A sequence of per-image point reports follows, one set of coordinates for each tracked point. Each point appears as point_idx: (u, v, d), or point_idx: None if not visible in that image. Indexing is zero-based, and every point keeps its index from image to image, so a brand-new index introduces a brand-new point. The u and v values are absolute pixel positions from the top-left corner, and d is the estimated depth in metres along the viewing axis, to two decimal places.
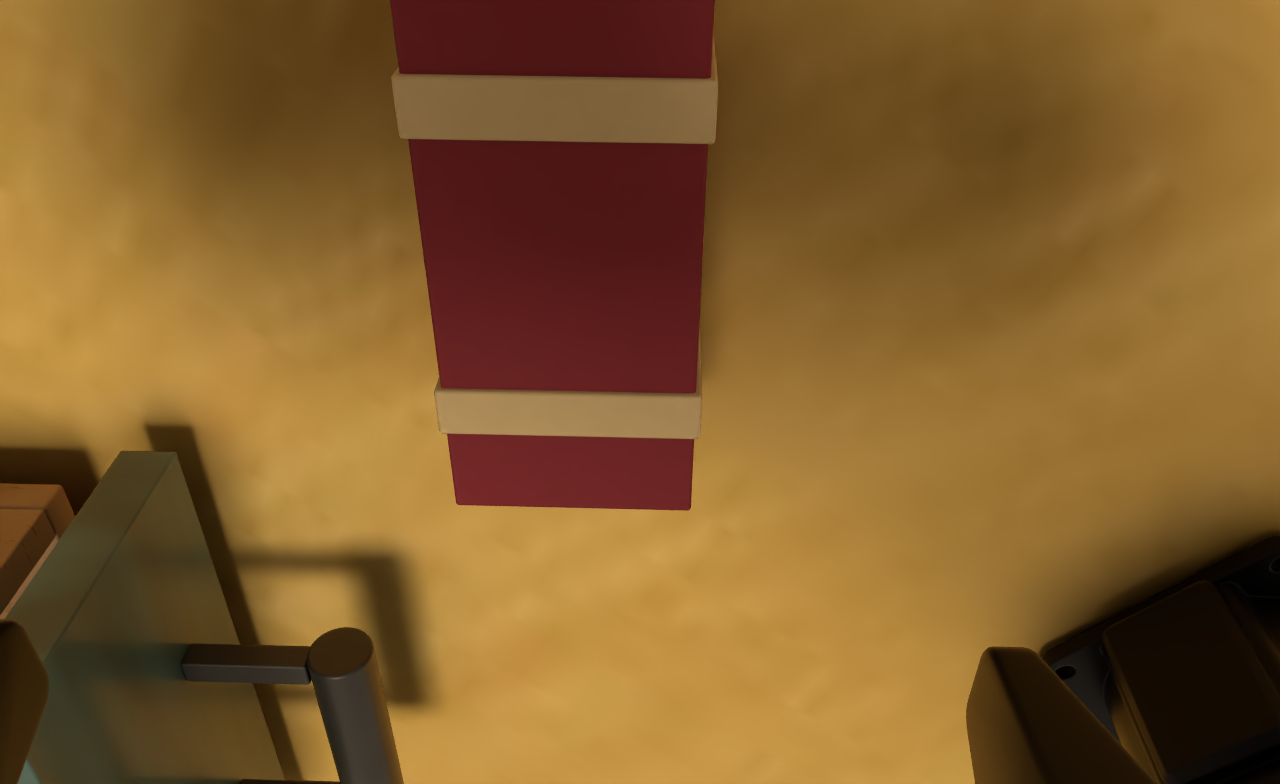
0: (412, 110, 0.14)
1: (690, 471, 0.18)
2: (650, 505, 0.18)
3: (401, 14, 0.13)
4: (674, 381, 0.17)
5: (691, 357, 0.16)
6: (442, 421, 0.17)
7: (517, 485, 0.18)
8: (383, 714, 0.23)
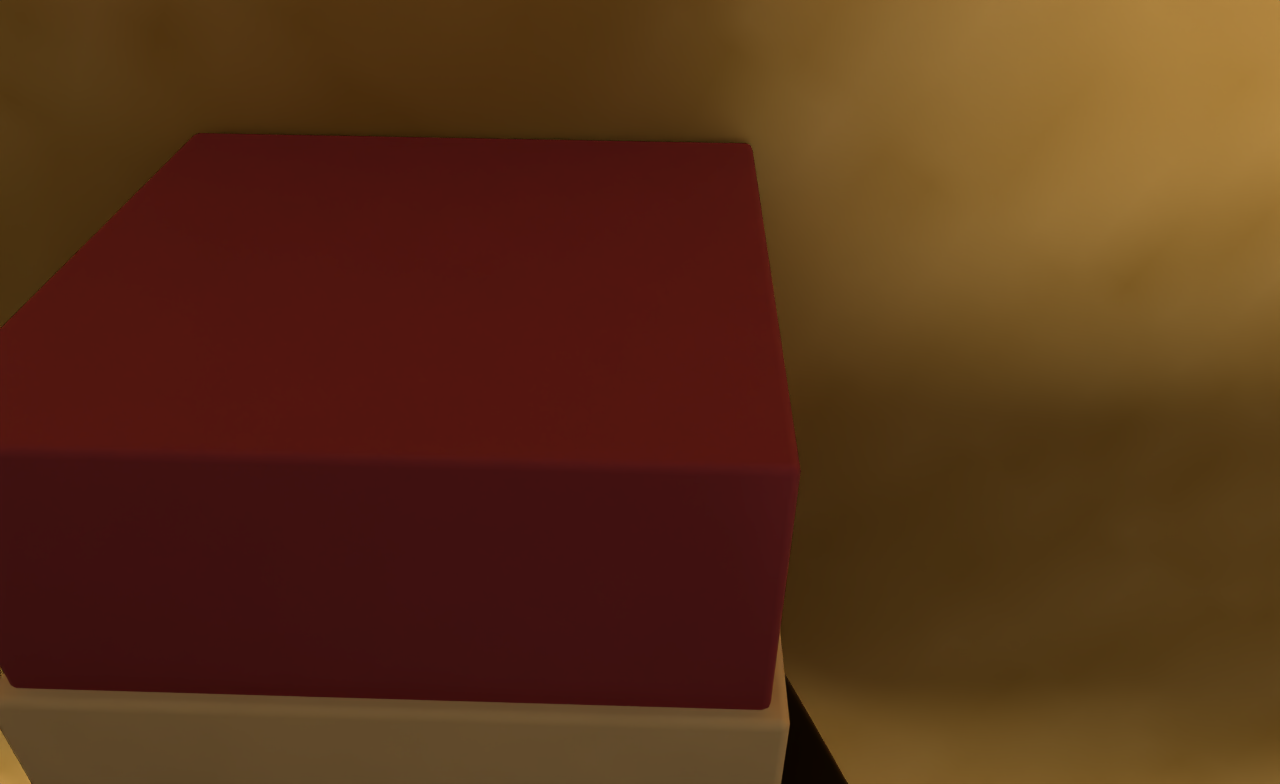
0: (60, 742, 0.06)
1: None
2: None
3: None
4: None
5: None
6: None
7: None
8: None
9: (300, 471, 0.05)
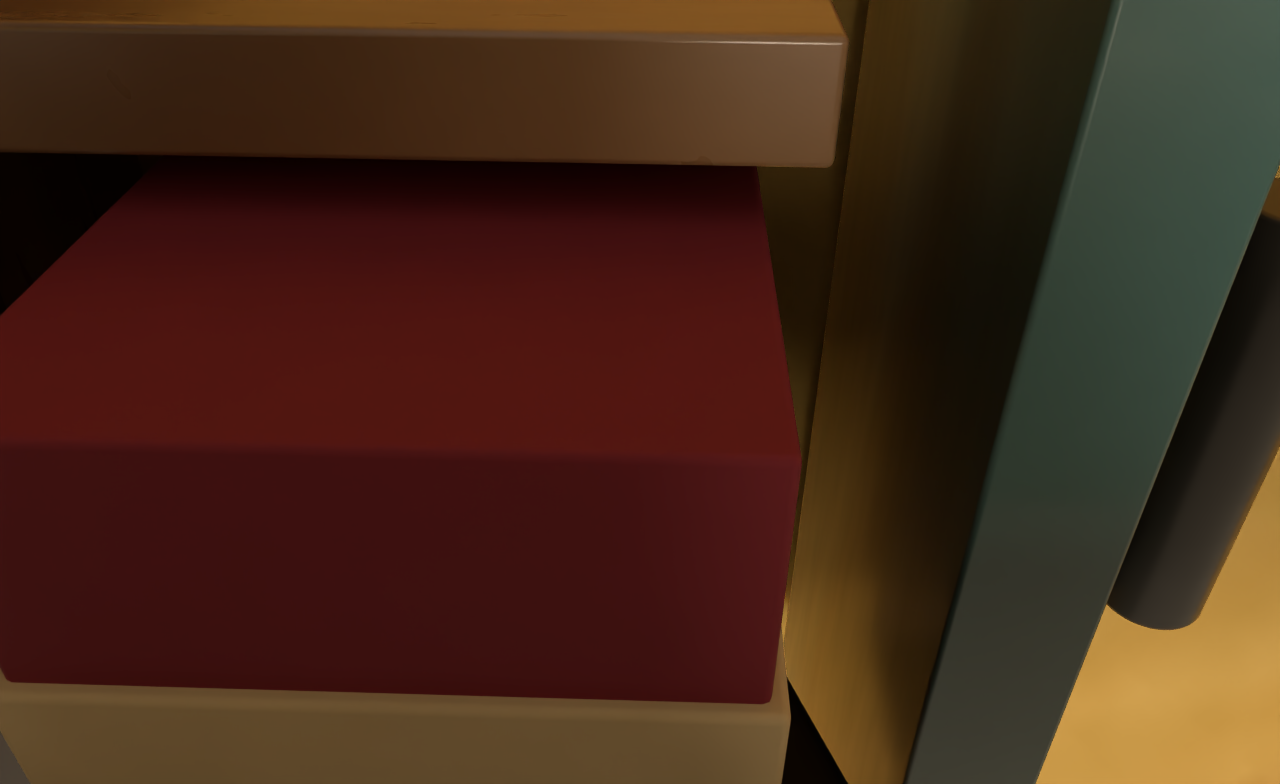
0: (54, 738, 0.06)
1: None
2: None
3: None
4: None
5: None
6: None
7: None
8: None
9: (297, 460, 0.05)
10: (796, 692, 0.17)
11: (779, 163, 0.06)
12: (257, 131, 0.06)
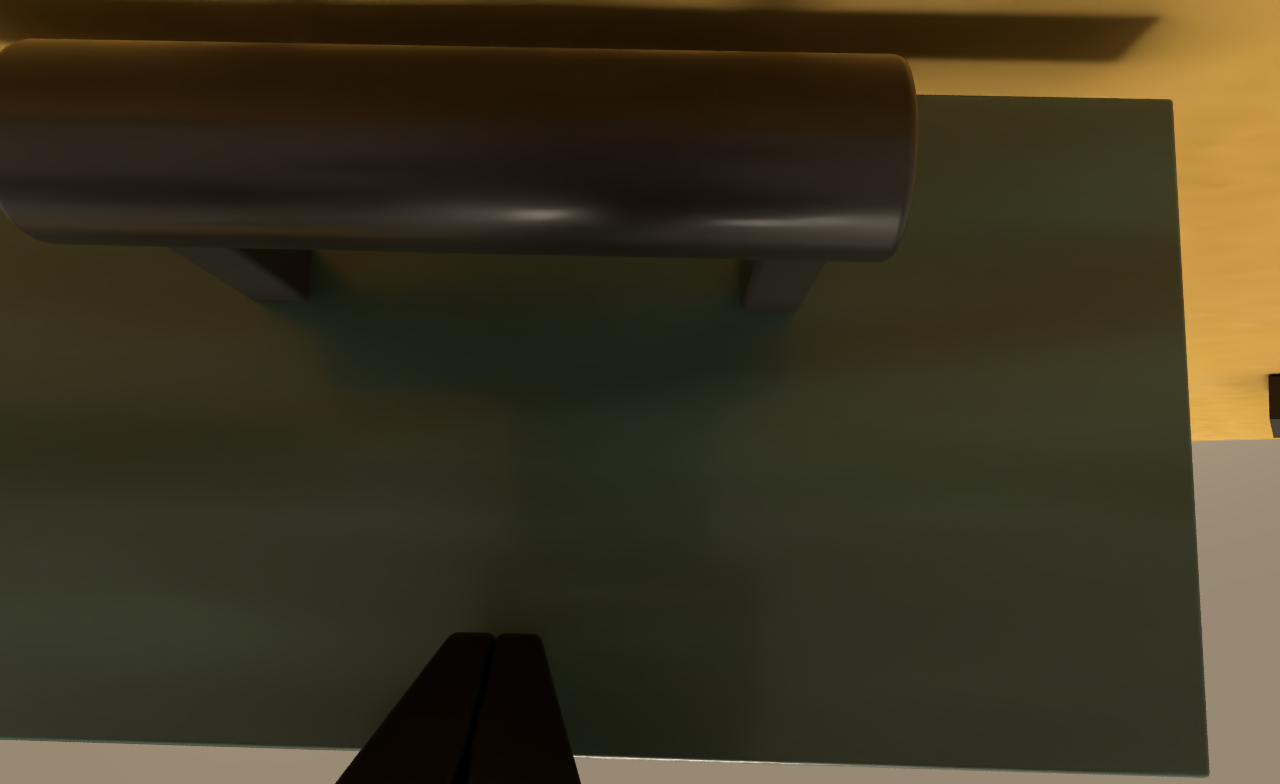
0: None
1: None
2: None
3: None
4: None
5: None
6: None
7: None
8: (282, 126, 0.06)
9: None
10: None
11: None
12: None
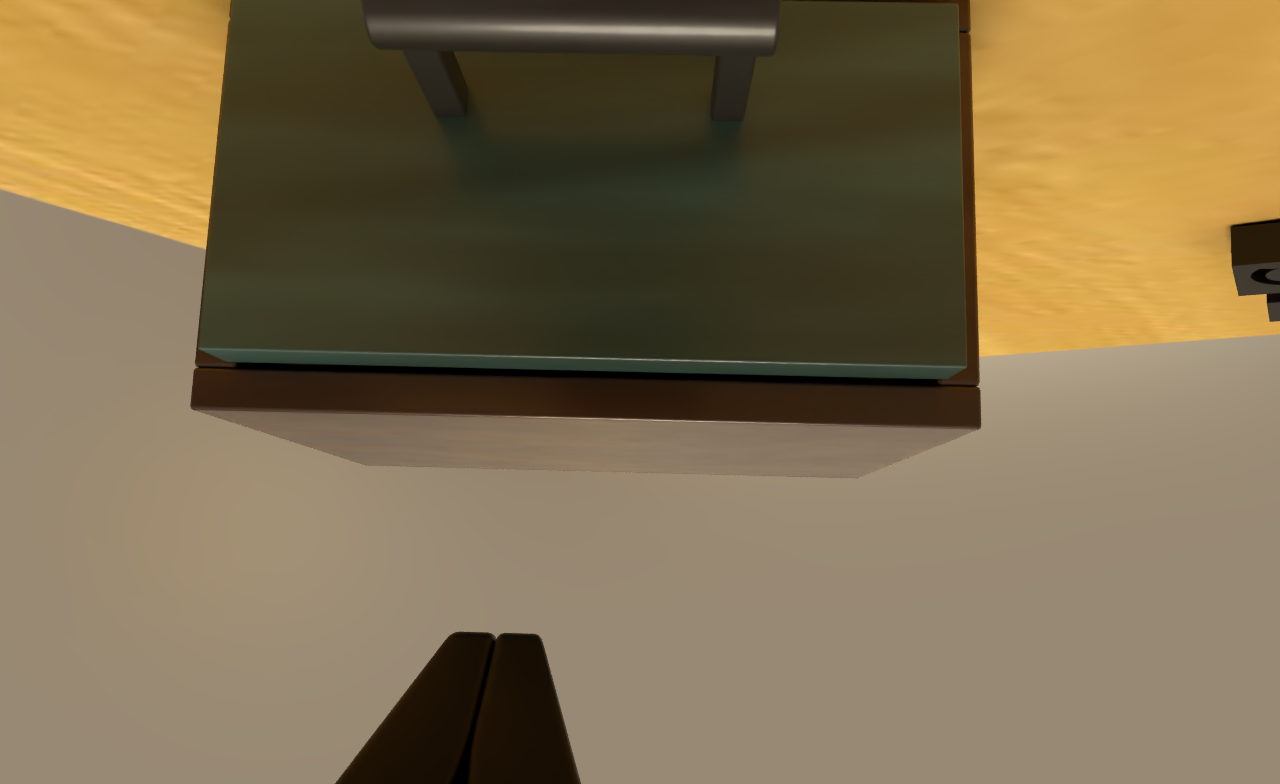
0: None
1: None
2: None
3: None
4: None
5: None
6: None
7: None
8: None
9: None
10: None
11: (333, 365, 0.21)
12: None
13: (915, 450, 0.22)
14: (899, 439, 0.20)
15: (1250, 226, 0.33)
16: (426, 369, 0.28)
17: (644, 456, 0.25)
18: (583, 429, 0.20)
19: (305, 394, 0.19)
